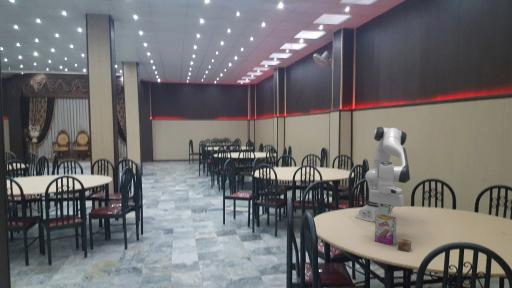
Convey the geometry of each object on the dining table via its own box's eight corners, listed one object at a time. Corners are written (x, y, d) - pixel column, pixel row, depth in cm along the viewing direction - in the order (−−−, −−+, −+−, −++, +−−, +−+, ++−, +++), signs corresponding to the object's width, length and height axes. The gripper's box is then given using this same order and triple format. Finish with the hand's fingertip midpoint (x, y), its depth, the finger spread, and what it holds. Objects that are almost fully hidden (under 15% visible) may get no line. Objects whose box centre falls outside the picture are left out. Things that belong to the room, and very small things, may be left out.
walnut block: (397, 250, 197) (397, 241, 197) (400, 246, 202) (400, 238, 202) (409, 252, 193) (409, 243, 193) (411, 248, 198) (411, 240, 198)
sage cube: (380, 214, 209) (380, 206, 208) (383, 212, 212) (383, 205, 212) (387, 215, 206) (387, 207, 205) (390, 213, 209) (391, 206, 208)
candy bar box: (374, 241, 211) (375, 215, 211) (378, 239, 215) (378, 213, 214) (393, 245, 204) (393, 218, 203) (396, 243, 208) (396, 216, 207)
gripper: (367, 187, 213) (367, 209, 214) (400, 191, 199) (400, 215, 199) (372, 186, 217) (371, 207, 218) (405, 190, 203) (404, 213, 204)
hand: (385, 211), depth 209 cm, fingers closed on sage cube, 4 cm apart
